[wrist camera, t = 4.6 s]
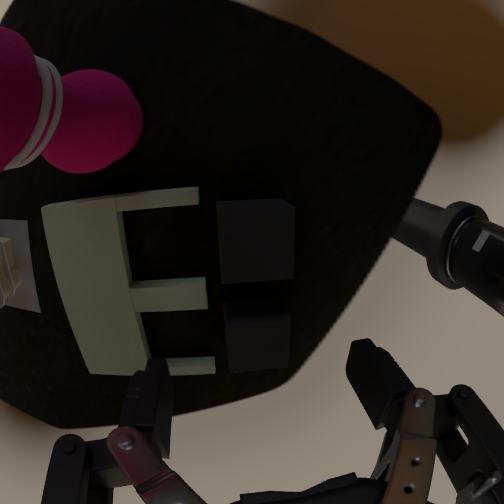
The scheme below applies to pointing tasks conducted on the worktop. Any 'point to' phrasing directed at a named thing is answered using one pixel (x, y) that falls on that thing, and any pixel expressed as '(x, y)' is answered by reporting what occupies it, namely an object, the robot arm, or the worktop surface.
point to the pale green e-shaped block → (116, 281)
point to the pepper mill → (61, 112)
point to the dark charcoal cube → (255, 240)
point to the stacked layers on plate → (16, 267)
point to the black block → (257, 334)
